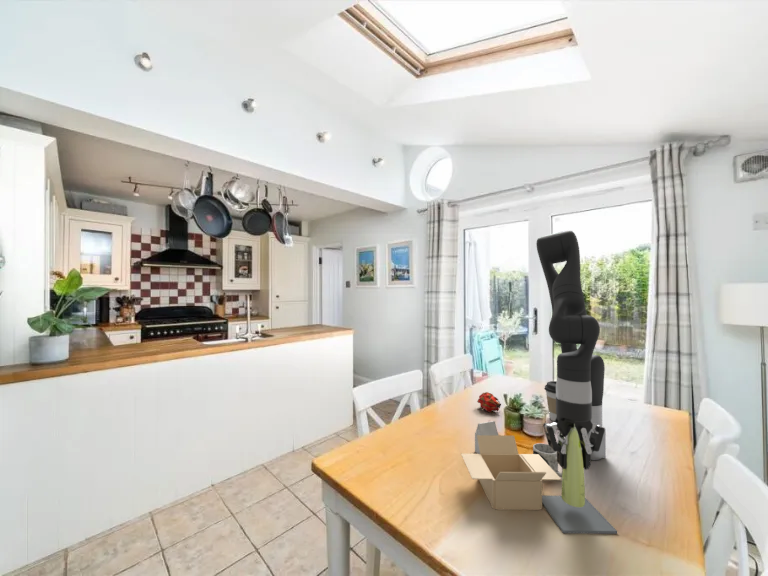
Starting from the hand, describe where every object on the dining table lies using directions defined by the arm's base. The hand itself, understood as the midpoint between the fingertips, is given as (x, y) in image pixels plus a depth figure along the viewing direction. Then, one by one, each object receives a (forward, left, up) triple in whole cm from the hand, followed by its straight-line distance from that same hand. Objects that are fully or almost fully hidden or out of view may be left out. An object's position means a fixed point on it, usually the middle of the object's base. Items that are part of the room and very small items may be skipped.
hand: (573, 466), depth 76 cm
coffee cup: (-27, -56, -12) cm, 63 cm away
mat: (0, 0, -11) cm, 11 cm away
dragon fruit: (-1, -66, -12) cm, 67 cm away
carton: (+13, -8, -11) cm, 19 cm away
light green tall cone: (0, 0, -9) cm, 9 cm away
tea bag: (+12, -29, -12) cm, 33 cm away
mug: (-3, -17, -12) cm, 21 cm away
